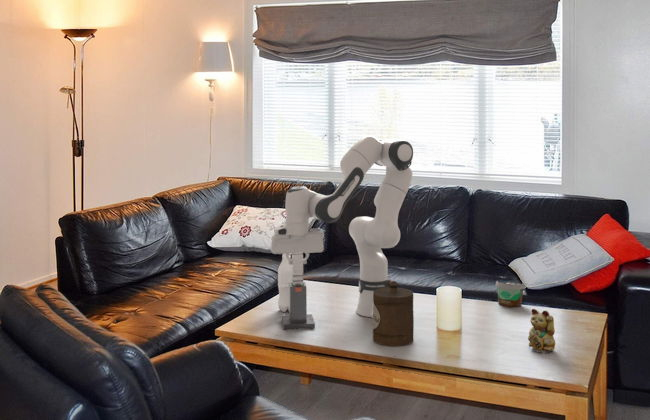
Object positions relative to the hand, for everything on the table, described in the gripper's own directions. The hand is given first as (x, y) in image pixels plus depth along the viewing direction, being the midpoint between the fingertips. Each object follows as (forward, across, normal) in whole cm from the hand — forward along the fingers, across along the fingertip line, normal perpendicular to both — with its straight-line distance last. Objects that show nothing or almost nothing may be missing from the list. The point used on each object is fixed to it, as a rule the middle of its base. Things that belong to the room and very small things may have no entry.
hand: (297, 264), depth 305 cm
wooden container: (+24, -33, +23) cm, 47 cm away
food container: (+24, -90, -14) cm, 94 cm away
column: (+16, 0, 0) cm, 16 cm away
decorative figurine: (+24, -83, +40) cm, 95 cm away
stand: (+24, 0, 0) cm, 24 cm away
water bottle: (+24, +3, -19) cm, 31 cm away
